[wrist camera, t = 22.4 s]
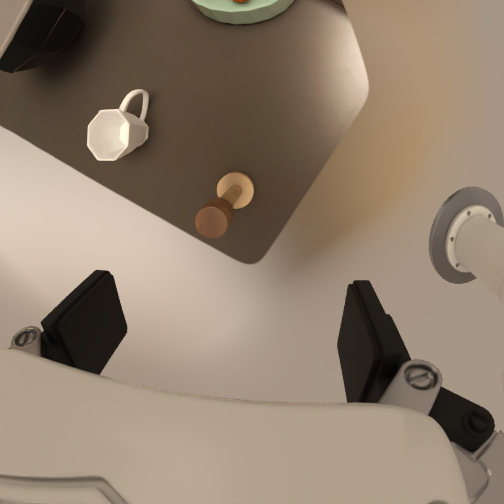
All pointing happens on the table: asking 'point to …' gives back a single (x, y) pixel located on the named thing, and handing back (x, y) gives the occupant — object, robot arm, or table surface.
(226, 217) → the brown long flanged bar
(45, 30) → the table lamp
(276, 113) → the table surface
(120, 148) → the cup
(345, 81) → the table surface
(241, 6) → the bowl
